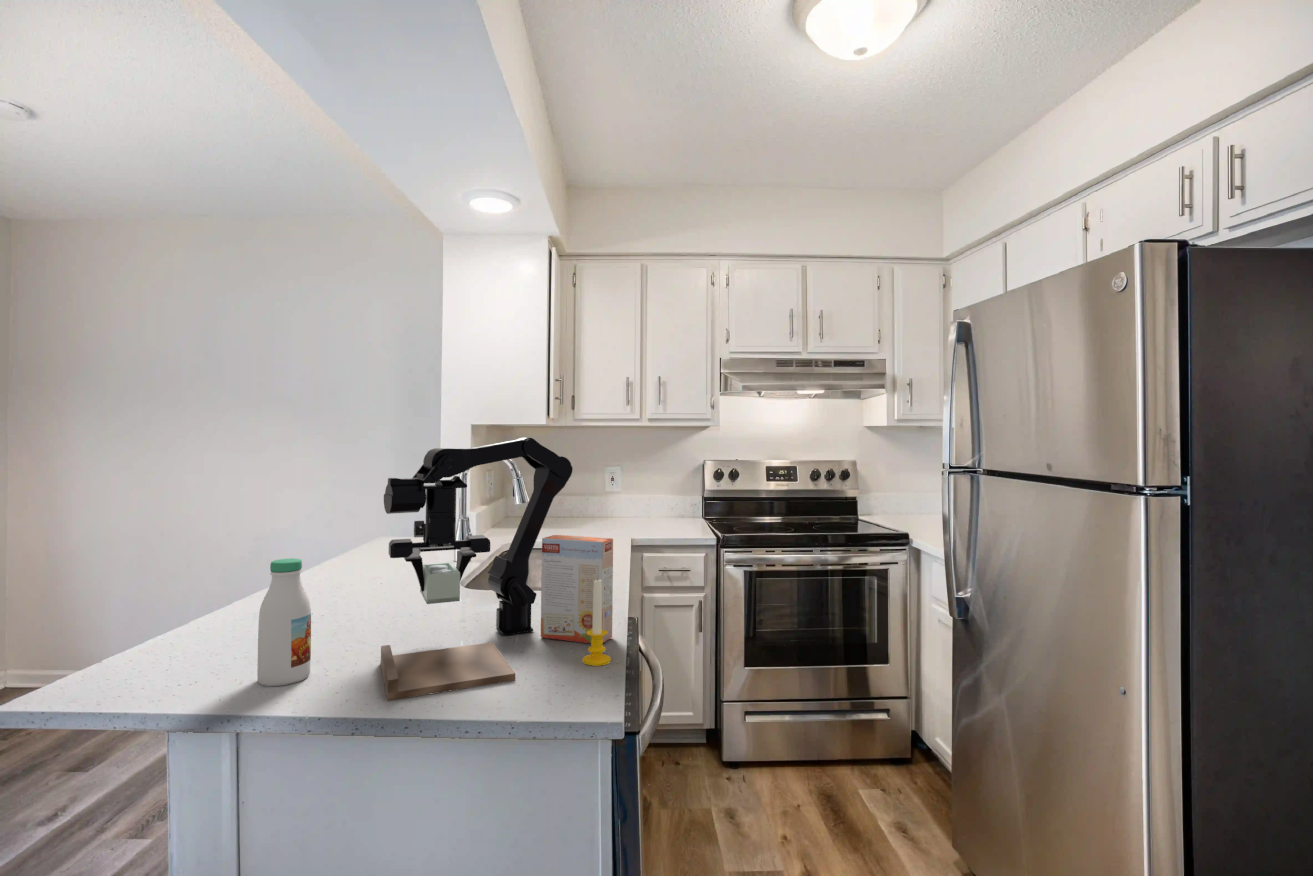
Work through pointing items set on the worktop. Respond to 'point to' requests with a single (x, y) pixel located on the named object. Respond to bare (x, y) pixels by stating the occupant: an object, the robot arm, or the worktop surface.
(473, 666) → the walnut shelf
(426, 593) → the pale green crate
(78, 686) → the worktop surface
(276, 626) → the milk bottle
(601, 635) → the candle
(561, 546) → the cracker box
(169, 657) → the worktop surface
